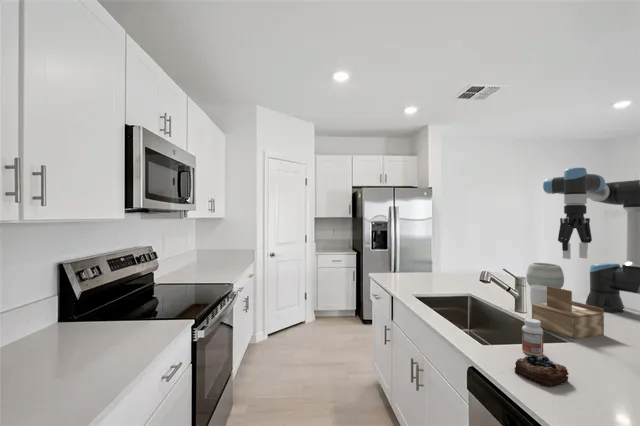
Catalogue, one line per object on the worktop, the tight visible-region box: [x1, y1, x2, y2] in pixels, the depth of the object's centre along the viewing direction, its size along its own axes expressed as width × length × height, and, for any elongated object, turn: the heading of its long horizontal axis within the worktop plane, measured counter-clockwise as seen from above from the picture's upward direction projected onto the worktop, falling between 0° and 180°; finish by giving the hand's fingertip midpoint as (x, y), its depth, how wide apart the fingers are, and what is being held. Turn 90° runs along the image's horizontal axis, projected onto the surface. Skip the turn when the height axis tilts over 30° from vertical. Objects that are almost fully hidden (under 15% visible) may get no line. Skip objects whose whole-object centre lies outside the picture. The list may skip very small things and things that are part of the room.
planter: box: [525, 262, 565, 289], centre depth 172 cm, size 16×16×22 cm
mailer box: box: [531, 306, 605, 340], centre depth 139 cm, size 16×18×8 cm
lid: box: [532, 286, 605, 317], centre depth 139 cm, size 16×18×9 cm
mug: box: [529, 285, 547, 307], centre depth 161 cm, size 15×11×13 cm
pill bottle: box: [521, 318, 544, 357], centre depth 115 cm, size 6×6×11 cm
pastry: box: [514, 354, 570, 388], centre depth 98 cm, size 11×12×6 cm
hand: (575, 258), depth 141 cm, fingers open, 9 cm apart
